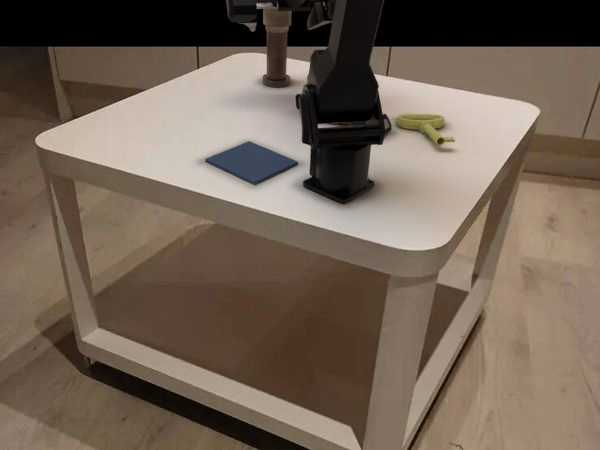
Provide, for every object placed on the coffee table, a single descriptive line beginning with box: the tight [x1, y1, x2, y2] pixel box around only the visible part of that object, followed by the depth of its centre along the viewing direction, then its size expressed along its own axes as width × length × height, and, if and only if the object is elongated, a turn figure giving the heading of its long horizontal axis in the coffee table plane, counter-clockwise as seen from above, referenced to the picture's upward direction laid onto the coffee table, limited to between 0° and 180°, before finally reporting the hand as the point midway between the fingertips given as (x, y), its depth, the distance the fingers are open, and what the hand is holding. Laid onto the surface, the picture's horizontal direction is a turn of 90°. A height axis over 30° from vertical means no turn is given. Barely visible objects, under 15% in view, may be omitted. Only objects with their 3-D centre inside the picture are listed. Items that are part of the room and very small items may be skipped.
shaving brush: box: [261, 8, 293, 88], centre depth 103 cm, size 5×5×14 cm
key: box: [395, 113, 456, 146], centre depth 90 cm, size 7×12×2 cm, turn 25°
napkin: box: [204, 140, 299, 186], centre depth 80 cm, size 9×8×1 cm
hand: (280, 27), depth 100 cm, fingers open, 9 cm apart
